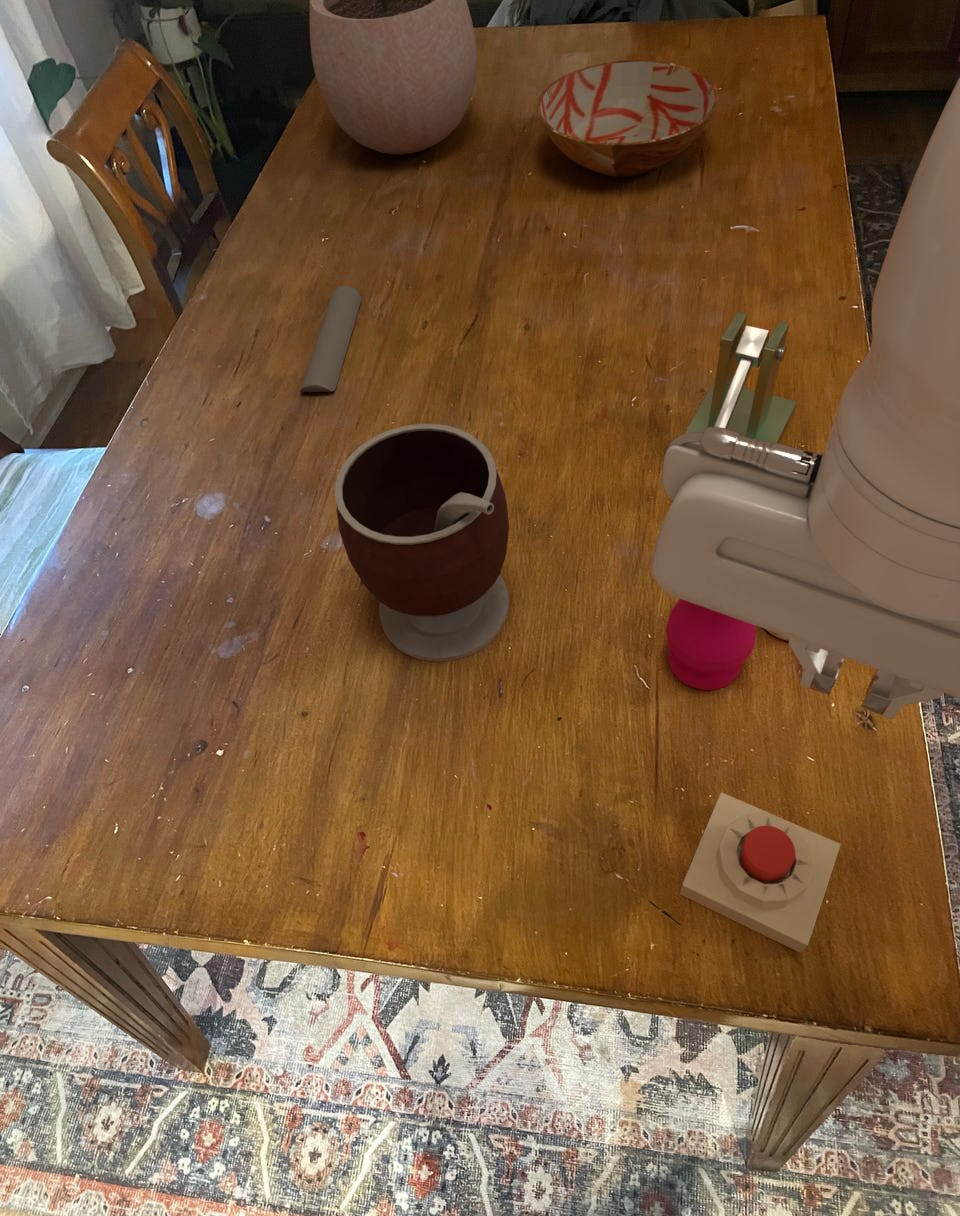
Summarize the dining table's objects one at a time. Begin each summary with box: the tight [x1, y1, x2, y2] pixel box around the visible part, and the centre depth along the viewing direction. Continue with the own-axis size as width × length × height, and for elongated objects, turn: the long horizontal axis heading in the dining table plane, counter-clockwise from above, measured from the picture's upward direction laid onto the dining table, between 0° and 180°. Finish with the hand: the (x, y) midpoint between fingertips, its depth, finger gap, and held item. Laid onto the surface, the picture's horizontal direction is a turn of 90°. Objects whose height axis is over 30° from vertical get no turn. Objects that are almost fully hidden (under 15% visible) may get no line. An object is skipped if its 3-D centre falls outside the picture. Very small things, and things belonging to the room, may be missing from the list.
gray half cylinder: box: [299, 284, 362, 393], centre depth 105 cm, size 4×20×2 cm, turn 175°
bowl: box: [535, 59, 719, 178], centre depth 122 cm, size 25×25×8 cm
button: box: [741, 826, 795, 881], centre depth 59 cm, size 3×3×2 cm
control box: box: [679, 792, 841, 954], centre depth 61 cm, size 9×8×4 cm
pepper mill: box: [665, 598, 757, 691], centre depth 66 cm, size 7×7×20 cm
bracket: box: [683, 311, 798, 444], centre depth 85 cm, size 11×9×13 cm
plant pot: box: [309, 0, 477, 155], centre depth 122 cm, size 24×24×30 cm
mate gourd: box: [334, 423, 510, 663], centre depth 72 cm, size 16×14×20 cm
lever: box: [714, 325, 770, 429], centre depth 81 cm, size 14×3×3 cm
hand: (848, 690), depth 41 cm, fingers closed
